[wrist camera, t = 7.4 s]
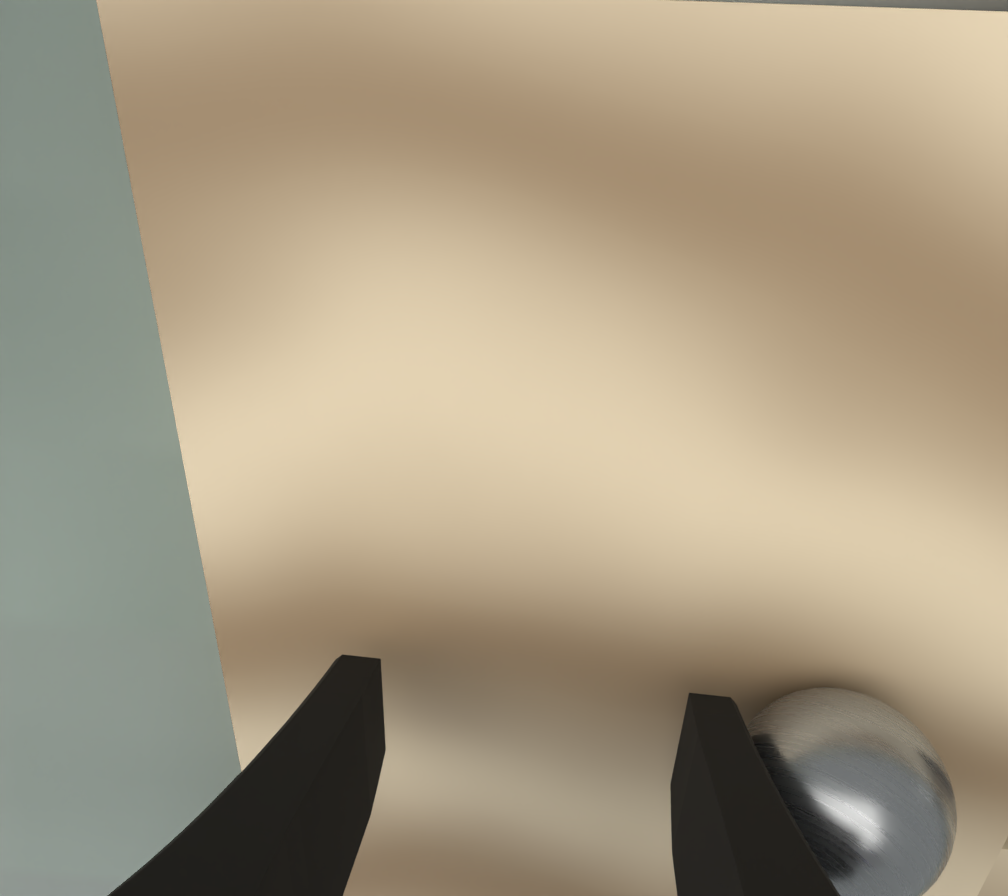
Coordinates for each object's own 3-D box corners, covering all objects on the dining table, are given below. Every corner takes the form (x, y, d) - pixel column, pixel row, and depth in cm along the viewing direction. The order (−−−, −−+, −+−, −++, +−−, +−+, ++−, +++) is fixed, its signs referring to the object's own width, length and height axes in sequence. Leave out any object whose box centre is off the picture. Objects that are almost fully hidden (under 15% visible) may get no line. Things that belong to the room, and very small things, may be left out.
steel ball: (698, 875, 13) (775, 722, 14) (904, 998, 11) (964, 809, 13) (688, 780, 11) (777, 616, 12) (934, 912, 9) (1001, 702, 11)
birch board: (1359, 1060, 18) (1417, 1143, 17) (302, 918, 20) (281, 983, 19) (2427, 59, 8) (2767, 72, 7) (157, -17, 10) (92, -20, 9)
